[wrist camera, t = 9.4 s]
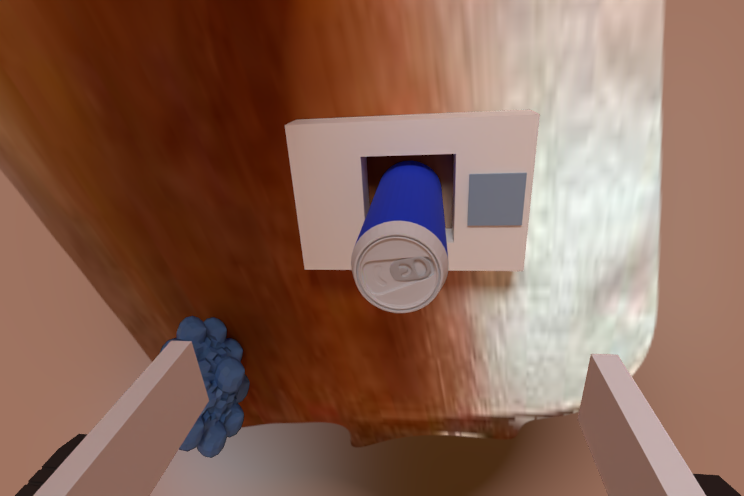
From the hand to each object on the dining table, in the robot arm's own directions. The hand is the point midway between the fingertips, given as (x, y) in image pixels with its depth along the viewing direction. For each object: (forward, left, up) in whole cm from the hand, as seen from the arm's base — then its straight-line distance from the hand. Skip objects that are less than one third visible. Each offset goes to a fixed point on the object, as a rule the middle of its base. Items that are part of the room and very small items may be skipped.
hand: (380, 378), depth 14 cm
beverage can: (0, 0, -23) cm, 23 cm away
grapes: (+16, -18, -23) cm, 33 cm away
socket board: (0, 0, -23) cm, 23 cm away
